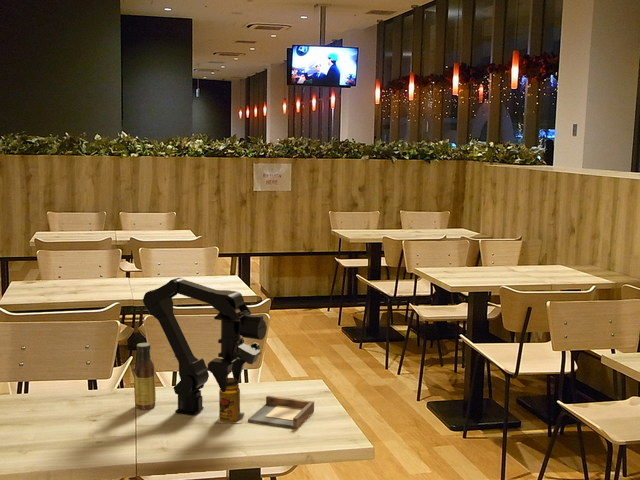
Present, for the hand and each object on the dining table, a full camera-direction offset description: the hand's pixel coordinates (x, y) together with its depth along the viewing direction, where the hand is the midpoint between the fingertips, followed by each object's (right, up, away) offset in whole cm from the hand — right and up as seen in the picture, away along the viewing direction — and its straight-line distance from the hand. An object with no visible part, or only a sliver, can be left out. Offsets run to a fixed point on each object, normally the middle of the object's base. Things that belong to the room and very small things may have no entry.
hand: (230, 387), depth 233 cm
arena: (+14, -9, +3) cm, 17 cm away
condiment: (0, -10, +1) cm, 10 cm away
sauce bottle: (-27, -8, +9) cm, 30 cm away
